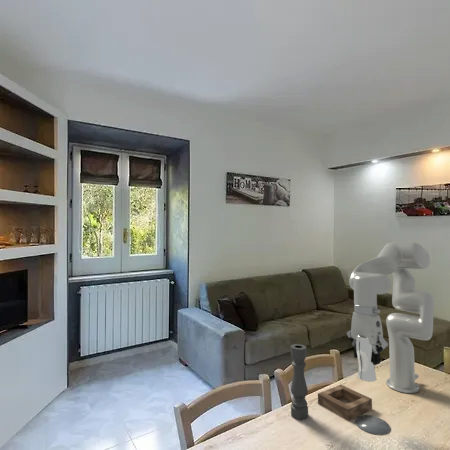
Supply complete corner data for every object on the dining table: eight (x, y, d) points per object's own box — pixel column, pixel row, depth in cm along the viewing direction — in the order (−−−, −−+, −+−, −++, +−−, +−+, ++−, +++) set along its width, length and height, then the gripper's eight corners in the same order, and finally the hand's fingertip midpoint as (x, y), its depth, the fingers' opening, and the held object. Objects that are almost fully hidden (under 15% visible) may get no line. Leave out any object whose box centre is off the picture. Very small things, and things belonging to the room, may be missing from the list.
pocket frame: (341, 394, 133) (341, 384, 133) (372, 409, 121) (371, 398, 121) (317, 403, 126) (317, 393, 126) (348, 421, 114) (348, 409, 114)
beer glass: (380, 383, 109) (379, 339, 110) (358, 381, 111) (357, 337, 111) (375, 374, 116) (374, 333, 117) (354, 372, 118) (354, 331, 118)
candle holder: (308, 412, 120) (307, 344, 121) (307, 421, 114) (306, 350, 115) (292, 409, 122) (291, 343, 123) (289, 418, 116) (288, 348, 117)
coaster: (367, 412, 119) (367, 411, 119) (396, 427, 110) (396, 426, 110) (348, 422, 113) (348, 421, 113) (377, 438, 104) (377, 437, 104)
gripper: (395, 313, 109) (396, 366, 108) (351, 304, 124) (352, 351, 123) (381, 316, 105) (383, 371, 104) (338, 306, 120) (339, 354, 119)
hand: (366, 360), depth 114 cm, fingers closed on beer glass, 6 cm apart
